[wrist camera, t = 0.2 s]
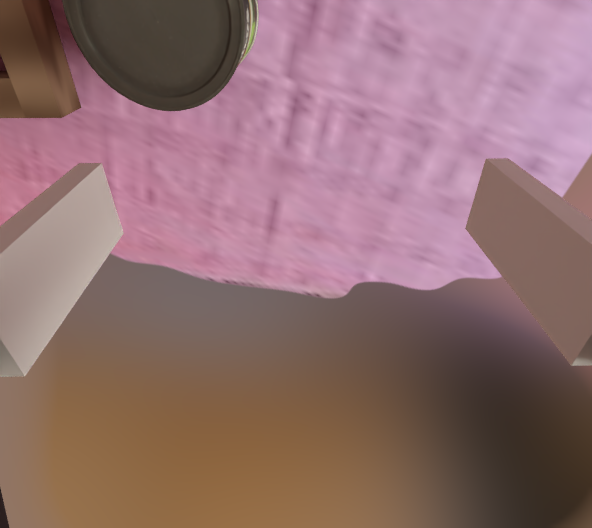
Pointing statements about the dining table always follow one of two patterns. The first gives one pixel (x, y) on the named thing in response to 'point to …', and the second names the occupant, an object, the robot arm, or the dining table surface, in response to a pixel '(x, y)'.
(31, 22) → the hole block
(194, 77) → the coffee can
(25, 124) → the dining table surface
